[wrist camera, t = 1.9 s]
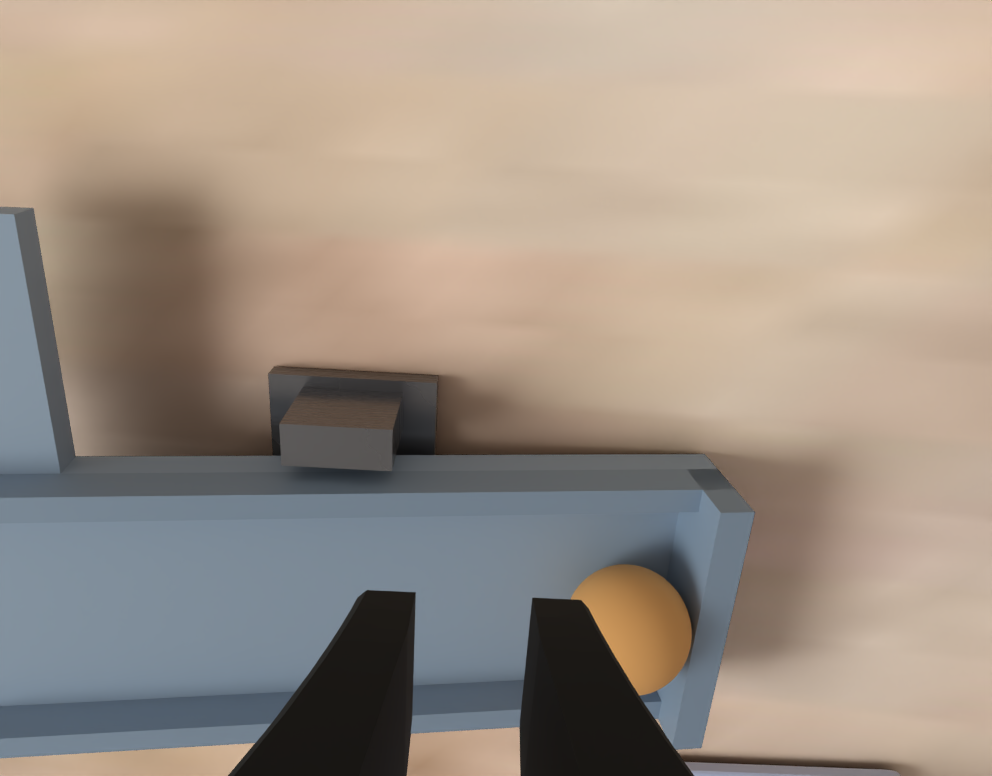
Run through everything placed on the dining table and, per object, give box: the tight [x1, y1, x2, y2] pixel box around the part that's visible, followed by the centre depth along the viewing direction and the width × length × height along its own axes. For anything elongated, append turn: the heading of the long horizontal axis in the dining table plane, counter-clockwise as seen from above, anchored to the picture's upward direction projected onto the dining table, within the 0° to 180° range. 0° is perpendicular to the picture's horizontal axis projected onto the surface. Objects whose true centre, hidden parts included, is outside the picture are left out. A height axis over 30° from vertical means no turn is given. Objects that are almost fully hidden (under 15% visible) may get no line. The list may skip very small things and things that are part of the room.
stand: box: [268, 366, 438, 471], centre depth 18 cm, size 10×4×3 cm, turn 176°
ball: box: [571, 564, 692, 696], centre depth 17 cm, size 3×3×3 cm
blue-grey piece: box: [0, 207, 755, 758], centre depth 16 cm, size 13×18×3 cm
